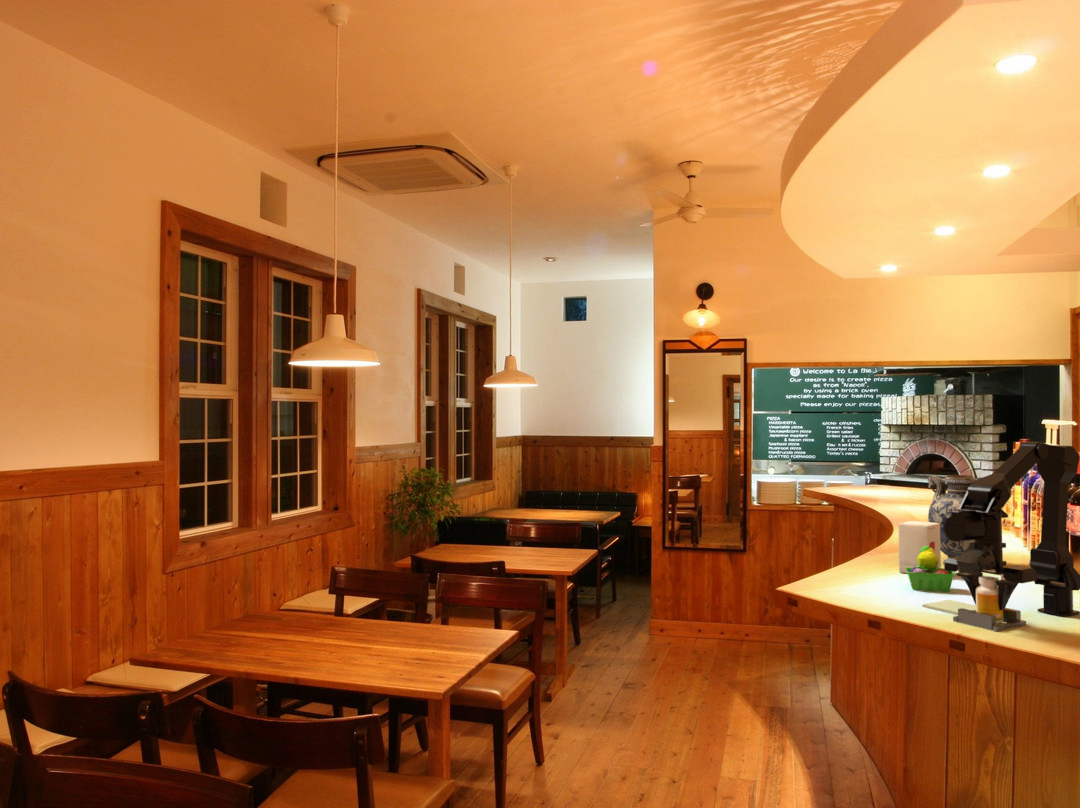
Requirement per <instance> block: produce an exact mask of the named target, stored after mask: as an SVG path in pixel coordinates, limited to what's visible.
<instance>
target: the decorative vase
mask: <svg viewBox="0 0 1080 808" xmlns="http://www.w3.org/2000/svg"><path fill="white" fill-rule="evenodd" d="M976 480H977V479H975V477H974V475H967V474H963V475H962V474H949V475H946V476H945V478H944V479H942V478H940V477H939V476H938V475H932V476H928V478H927V484H928V489H931V490H932V492H934V494H933V496H932V501H931V504H930V505H929V508H928V515H927V519H928V521H927V522H932V523H940V552H941V553H943V554H944V555H945V556H946V557H947V558H951V557H957V556H961V555H962V554H963V553H965V552H968V551H969V545H970V542H974V540H968V541H959V542H955V541H952V540H950V539H949V538H948V537H947V535H946V533H945V531H944V525H945V522H946V520H947V519H948V518H949V517H951V516H952V511H955V510H956V511H958V508H959V506H960V504H961V502H962V500H963V498H964V496H965V494H966V492H967V489H968V487H969V486H970V484H972V483H973V482H975V481H976ZM945 560H946V559H945ZM945 560H943V561H942V564H943V565H944V562H945Z"/></svg>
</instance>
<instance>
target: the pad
mask: <svg viewBox="0 0 1080 808" xmlns="http://www.w3.org/2000/svg"><path fill="white" fill-rule="evenodd" d="M921 606H922V608H926V609H931V610H935V611H940V612H942V613H943V612H944V613H948V614H952V615H955V616H958V609H961V608H963V609H968V610H972V611H976V605H975V604H971V603H966V602H960V601H957V600H952V599H946V600H939V601H935V602H934V601H933V602H928V603H923V604H922V605H921Z"/></svg>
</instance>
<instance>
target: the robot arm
mask: <svg viewBox="0 0 1080 808" xmlns="http://www.w3.org/2000/svg"><path fill="white" fill-rule="evenodd" d="M1079 464H1080V453H1079V452H1078V451H1077V450H1076V448H1075V447H1074V446H1071V445H1061V444H1060V445H1055V444H1053V445H1052V444H1048V443H1045V442H1041V441H1025V442H1021V443H1020V444H1019V446H1018V449H1017V450H1015V452H1014V453H1012V454H1011V455H1010V456H1009V457H1008V458H1007V459H1006V460H1005V461H1004V462H1003V463H1002V464H1001V465H1000V466H999V467H998V468H997V469H996V470H995V471H994V472H993V473H991V474H988V475H986V476H982V477H979V478H978V479H976V481H975V482H973V483H972V484H970V486H969V487H968V489H967V492H966V494H965V496H964V498H963V500H962V502H961V504H960V506H959V508H958V511H956V510H955V511H952V516H951V517H949V518H948V519H947V520H946V522H945V525H944V531H945V533H946V535H947V537H948V538H949V539H950V540H952V541H955V542H959V541H968V540H974V542H970V545H969V551H968V552H965V553H963V554H962V555H961V556H957V557H951V558H948V557H947V558H946V559H945V562H944V564H943V568H944V570H947V571H953V573H956V574H955V575H956V576H957V577H960V578H961V579H962V580H963V582H965V584H966V586H967V588H968V590H969V592H970V595H971V597H972V599H973V600H972V601H973V602H974V605H976V588H977V587H978V586H980V584H979V577H981V576H984V573H986V574H991V575H996V576H1000V579H999V580H996V581H995V582H996V584H997V586H998V592H999V609H1000V610H1004V609H1005V608H1007V607H1006V606H1007V604H1008V602H1009V600H1010V598H1011V596H1012V594H1013V593H1014V591H1015V589H1016V588H1017V586H1018V585H1019V584H1026V583H1031V582H1034V585H1041V586H1043V587H1042V588H1043V594H1042V599H1043V601H1042V602H1043V607H1040V608H1037V611H1038V612H1042V613H1045V614H1051V615H1055V616H1060V617H1069V616H1074V615H1078V614H1080V610H1075V609H1074V591H1080V574H1079V572H1078V571H1077V570H1076V568H1075V567H1074V566H1075V565H1074V556H1073V555H1072V553H1071V551H1070V550H1069V547H1067V542H1066V541H1067V524H1068V520H1067V519H1068V503H1069V501H1068V500H1069V486H1070V483H1071V481H1072V480H1073V479H1074V478H1075V476H1076V475H1077V474H1078V468H1079ZM1035 465H1036V470H1037V472H1038V474H1039V475H1040V478H1041V479H1042V481H1043V494H1042V495H1043V496H1042V513H1041V514H1042V515H1041V516H1042V517H1041V531H1040V532H1041V533H1040V535H1041V536H1040V543H1038V545H1037V546H1036V547H1035V548H1030V551H1029V554H1030V556H1029V557H1030V558H1029V559H1030V560H1029V563H1028V565H1029V566H1025V565H1024V566H1021V565H1012V566H1007V561H1006V560H1003V559H1004V558H1003V556H1004V555H1003V549H1006V548H1007V543H1006V542H1003V528H1002V527H1003V525H1002V524H1003V521H1002V520H1003V519H1005V518H1008V517H1009V514H1008V513H1007V512H1006V511H1004V510H1003V508H1004V507H1005V505H1006V504H1007V503H1008V502H1009V500H1010V499H1011V497H1012V489H1013V487H1014V486H1015V485H1016V484H1018V482H1019V481H1021V479H1022V478H1023V477H1024V476H1026V474H1028V472H1030V470H1032V469H1033V468H1034V467H1035ZM1006 566H1007V567H1006Z"/></svg>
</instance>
